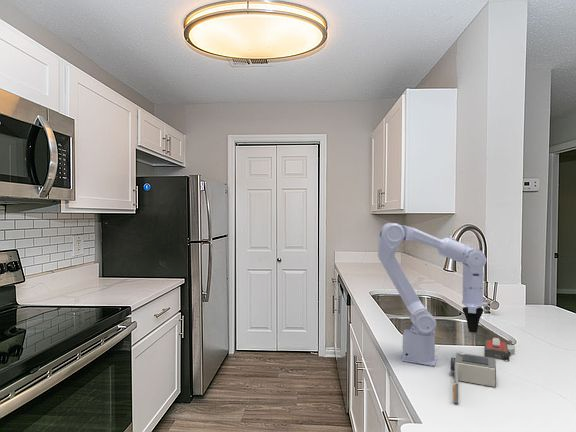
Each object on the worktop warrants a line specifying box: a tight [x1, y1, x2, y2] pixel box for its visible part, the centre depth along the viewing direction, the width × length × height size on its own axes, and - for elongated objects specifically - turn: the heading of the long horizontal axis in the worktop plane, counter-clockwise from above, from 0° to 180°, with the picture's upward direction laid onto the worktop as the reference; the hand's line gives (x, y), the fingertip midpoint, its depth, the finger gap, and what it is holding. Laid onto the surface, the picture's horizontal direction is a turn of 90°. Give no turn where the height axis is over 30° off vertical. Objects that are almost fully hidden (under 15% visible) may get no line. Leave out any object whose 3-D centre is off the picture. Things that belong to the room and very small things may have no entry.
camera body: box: [450, 351, 497, 388], centre depth 108 cm, size 11×8×6 cm
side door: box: [452, 363, 459, 404], centre depth 99 cm, size 14×1×5 cm, turn 157°
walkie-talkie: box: [484, 337, 516, 361], centre depth 130 cm, size 9×4×20 cm
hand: (472, 331), depth 119 cm, fingers closed
